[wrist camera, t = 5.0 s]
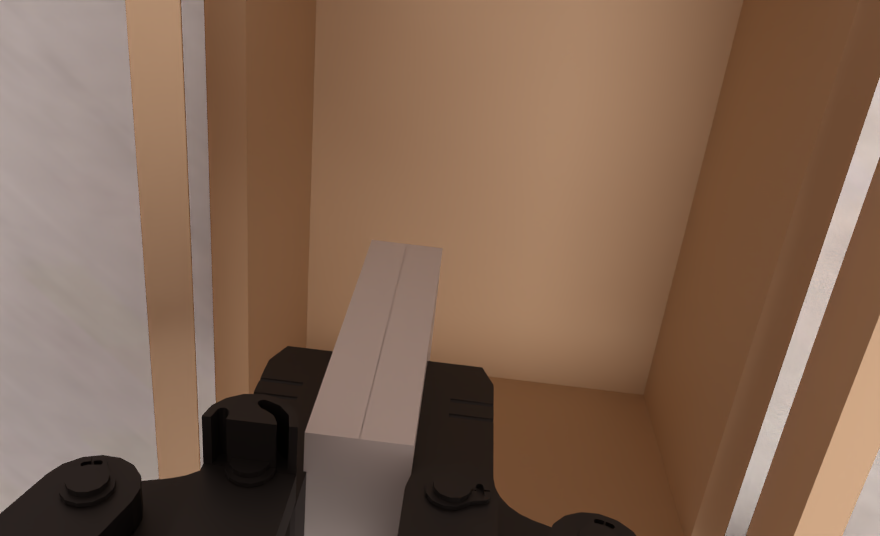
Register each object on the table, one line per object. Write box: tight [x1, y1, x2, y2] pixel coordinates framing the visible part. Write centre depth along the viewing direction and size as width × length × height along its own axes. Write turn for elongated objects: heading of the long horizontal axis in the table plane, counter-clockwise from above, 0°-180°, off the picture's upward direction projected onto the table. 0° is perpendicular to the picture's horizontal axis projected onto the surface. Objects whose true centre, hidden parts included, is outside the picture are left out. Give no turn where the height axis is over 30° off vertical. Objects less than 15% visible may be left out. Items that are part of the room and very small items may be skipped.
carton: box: [204, 0, 880, 536], centre depth 25 cm, size 16×23×9 cm
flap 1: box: [125, 0, 200, 479], centre depth 18 cm, size 1×21×6 cm, turn 173°
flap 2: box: [746, 158, 880, 536], centre depth 18 cm, size 1×21×6 cm, turn 174°
